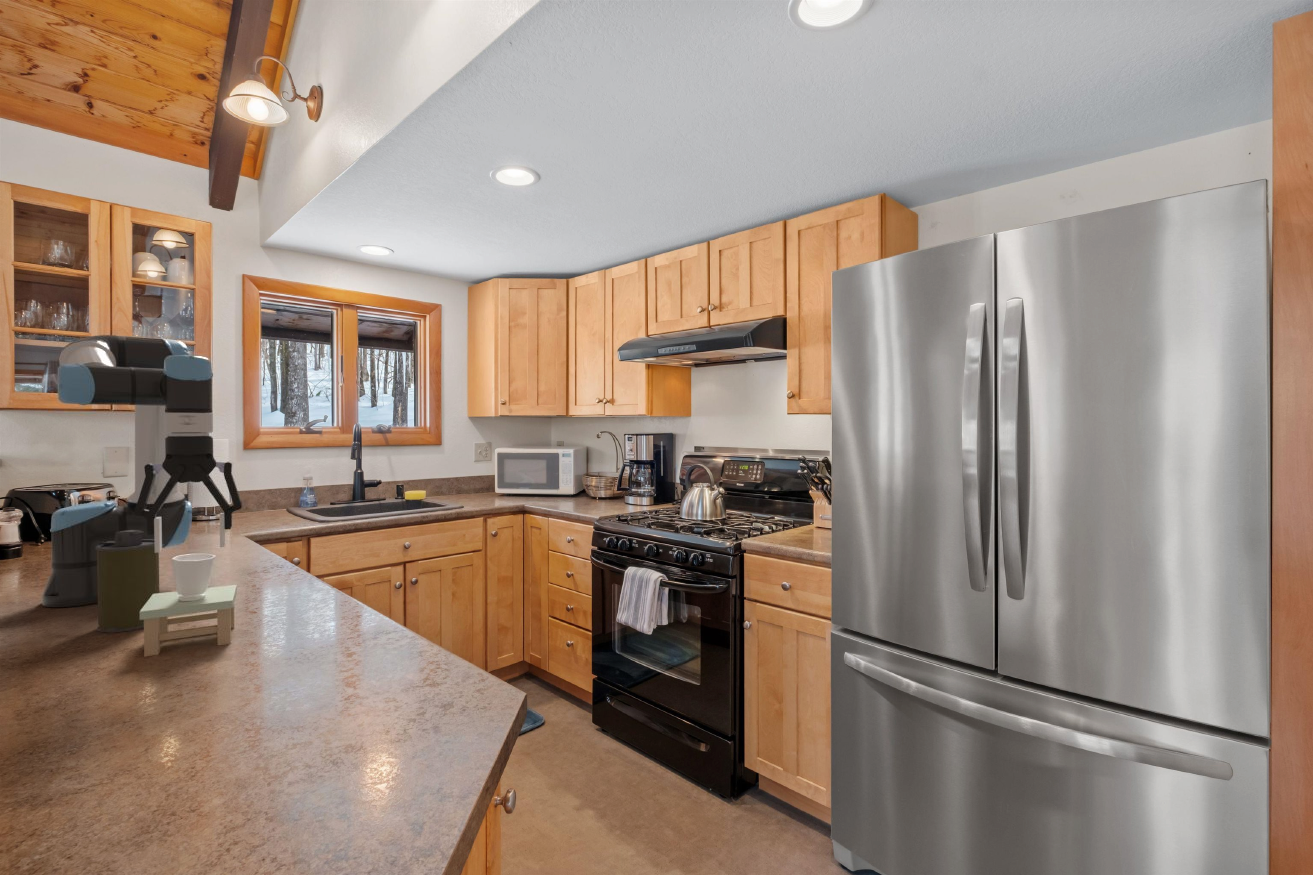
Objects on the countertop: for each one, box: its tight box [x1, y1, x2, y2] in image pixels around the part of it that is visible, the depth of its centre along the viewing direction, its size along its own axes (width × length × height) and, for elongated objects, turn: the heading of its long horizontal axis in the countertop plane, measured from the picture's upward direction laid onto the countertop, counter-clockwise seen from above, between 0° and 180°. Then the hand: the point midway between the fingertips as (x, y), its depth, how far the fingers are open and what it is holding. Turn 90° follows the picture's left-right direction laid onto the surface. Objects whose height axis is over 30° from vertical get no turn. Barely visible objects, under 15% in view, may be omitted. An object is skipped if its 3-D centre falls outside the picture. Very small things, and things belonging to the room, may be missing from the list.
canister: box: [95, 530, 160, 634], centre depth 132 cm, size 11×10×20 cm
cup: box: [171, 553, 217, 601], centre depth 122 cm, size 7×10×8 cm
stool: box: [140, 584, 238, 658], centre depth 123 cm, size 14×14×8 cm
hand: (191, 548), depth 122 cm, fingers open, 9 cm apart
